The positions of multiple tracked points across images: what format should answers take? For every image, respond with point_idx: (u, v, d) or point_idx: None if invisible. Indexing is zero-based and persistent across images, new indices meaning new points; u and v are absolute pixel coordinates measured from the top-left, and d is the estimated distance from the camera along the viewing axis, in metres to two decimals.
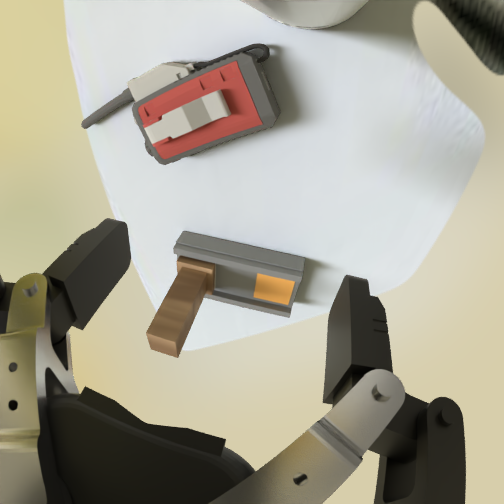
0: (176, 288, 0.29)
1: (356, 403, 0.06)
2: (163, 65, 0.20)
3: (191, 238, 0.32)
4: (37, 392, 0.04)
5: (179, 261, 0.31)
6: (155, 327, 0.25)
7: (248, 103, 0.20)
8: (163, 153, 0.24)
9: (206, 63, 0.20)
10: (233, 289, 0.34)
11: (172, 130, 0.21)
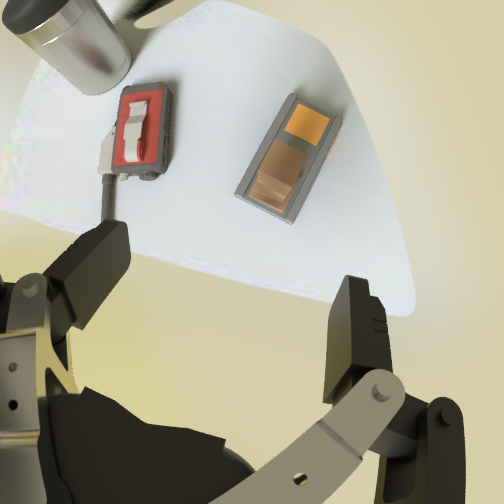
0: None
1: (356, 403, 0.06)
2: (102, 141, 0.32)
3: None
4: (37, 392, 0.04)
5: (250, 191, 0.31)
6: None
7: (147, 93, 0.31)
8: (151, 159, 0.31)
9: None
10: None
11: (135, 135, 0.30)
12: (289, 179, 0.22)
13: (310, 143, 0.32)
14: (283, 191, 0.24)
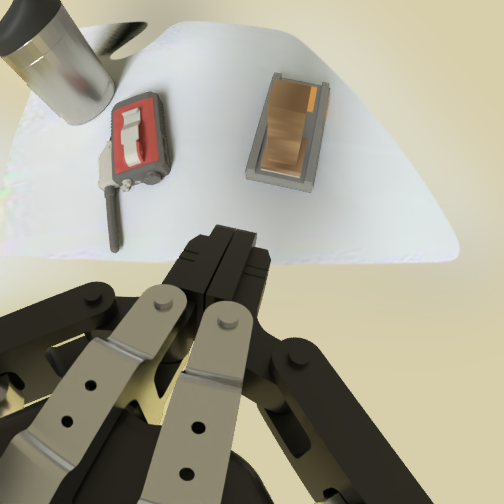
0: None
1: (209, 341, 0.06)
2: (100, 156, 0.32)
3: None
4: (100, 428, 0.04)
5: (261, 162, 0.29)
6: None
7: (138, 103, 0.32)
8: (153, 158, 0.30)
9: None
10: (306, 128, 0.30)
11: (133, 137, 0.29)
12: (300, 107, 0.20)
13: None
14: (297, 132, 0.22)
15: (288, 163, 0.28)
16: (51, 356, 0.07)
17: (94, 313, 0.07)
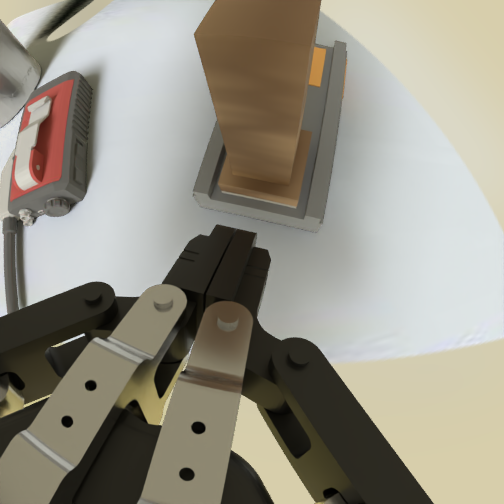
0: None
1: (209, 341, 0.06)
2: (2, 172, 0.17)
3: None
4: (100, 428, 0.04)
5: (220, 178, 0.15)
6: None
7: (53, 89, 0.17)
8: (53, 175, 0.16)
9: None
10: (308, 113, 0.16)
11: (28, 143, 0.15)
12: (294, 32, 0.06)
13: (309, 84, 0.17)
14: (287, 110, 0.08)
15: (273, 181, 0.14)
16: (51, 356, 0.07)
17: (94, 313, 0.07)
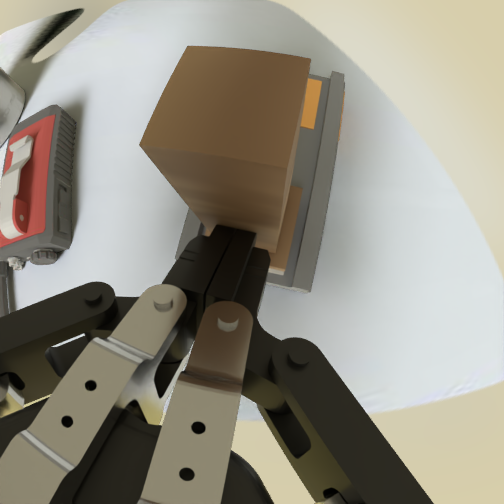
0: None
1: (209, 341, 0.06)
2: None
3: None
4: (100, 427, 0.04)
5: None
6: None
7: (35, 126, 0.17)
8: (37, 227, 0.16)
9: None
10: (299, 162, 0.16)
11: (10, 191, 0.15)
12: (266, 142, 0.05)
13: (301, 126, 0.16)
14: (265, 212, 0.08)
15: None
16: (51, 356, 0.07)
17: (94, 313, 0.07)
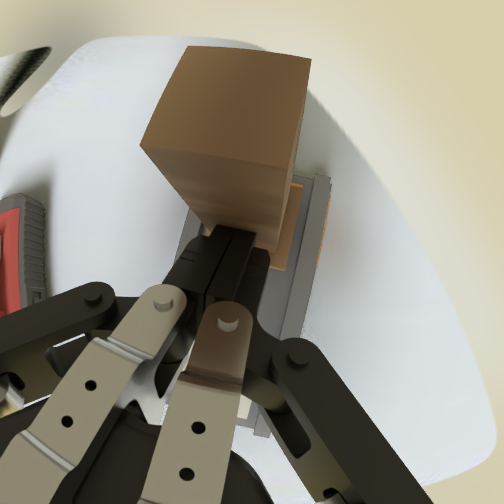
0: None
1: (209, 341, 0.06)
2: None
3: None
4: (100, 428, 0.04)
5: None
6: None
7: (1, 217, 0.16)
8: None
9: None
10: (268, 303, 0.15)
11: None
12: (267, 142, 0.05)
13: None
14: (265, 212, 0.08)
15: None
16: (51, 356, 0.07)
17: (94, 313, 0.07)
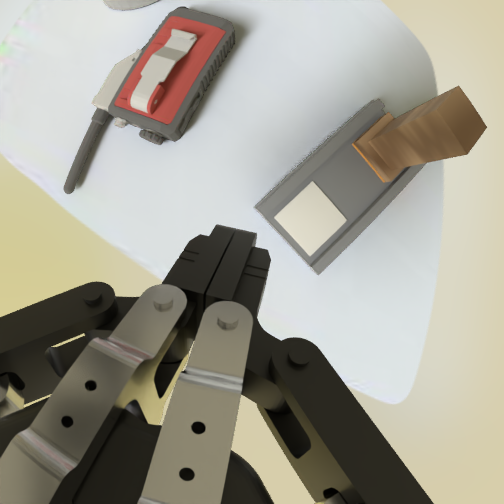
0: (391, 127, 0.17)
1: (209, 341, 0.06)
2: (116, 64, 0.20)
3: (266, 195, 0.23)
4: (100, 428, 0.04)
5: (360, 138, 0.20)
6: (432, 108, 0.12)
7: (203, 26, 0.19)
8: (164, 117, 0.20)
9: None
10: (362, 197, 0.22)
11: (158, 75, 0.18)
12: (466, 142, 0.12)
13: (378, 175, 0.22)
14: (433, 154, 0.15)
15: (386, 162, 0.20)
16: (51, 356, 0.07)
17: (94, 313, 0.07)
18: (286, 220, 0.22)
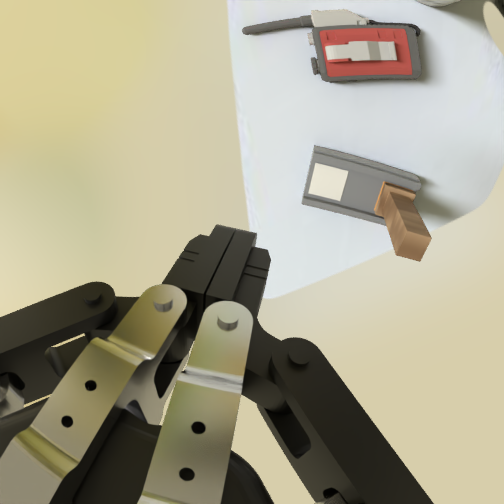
0: (399, 204, 0.29)
1: (209, 341, 0.06)
2: (348, 10, 0.22)
3: (325, 150, 0.33)
4: (100, 428, 0.04)
5: (388, 186, 0.32)
6: (410, 227, 0.25)
7: (407, 58, 0.23)
8: (331, 71, 0.26)
9: (378, 22, 0.23)
10: (357, 202, 0.35)
11: (354, 54, 0.24)
12: (401, 252, 0.26)
13: (375, 205, 0.35)
14: (392, 235, 0.28)
15: (383, 207, 0.33)
16: (51, 356, 0.07)
17: (94, 313, 0.07)
18: (318, 170, 0.34)
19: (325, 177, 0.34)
